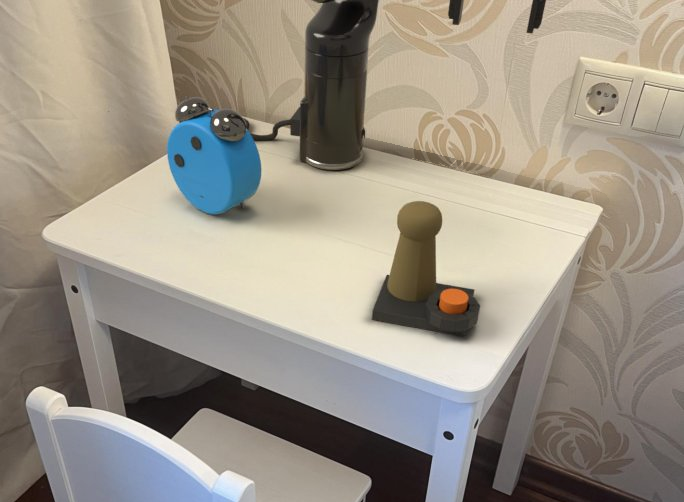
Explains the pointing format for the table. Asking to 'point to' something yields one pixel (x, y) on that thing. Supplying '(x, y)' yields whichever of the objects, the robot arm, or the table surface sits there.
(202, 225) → the table surface
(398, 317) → the scale
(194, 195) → the alarm clock
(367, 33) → the robot arm
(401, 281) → the olive brown pawn
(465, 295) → the tare button
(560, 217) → the table surface
